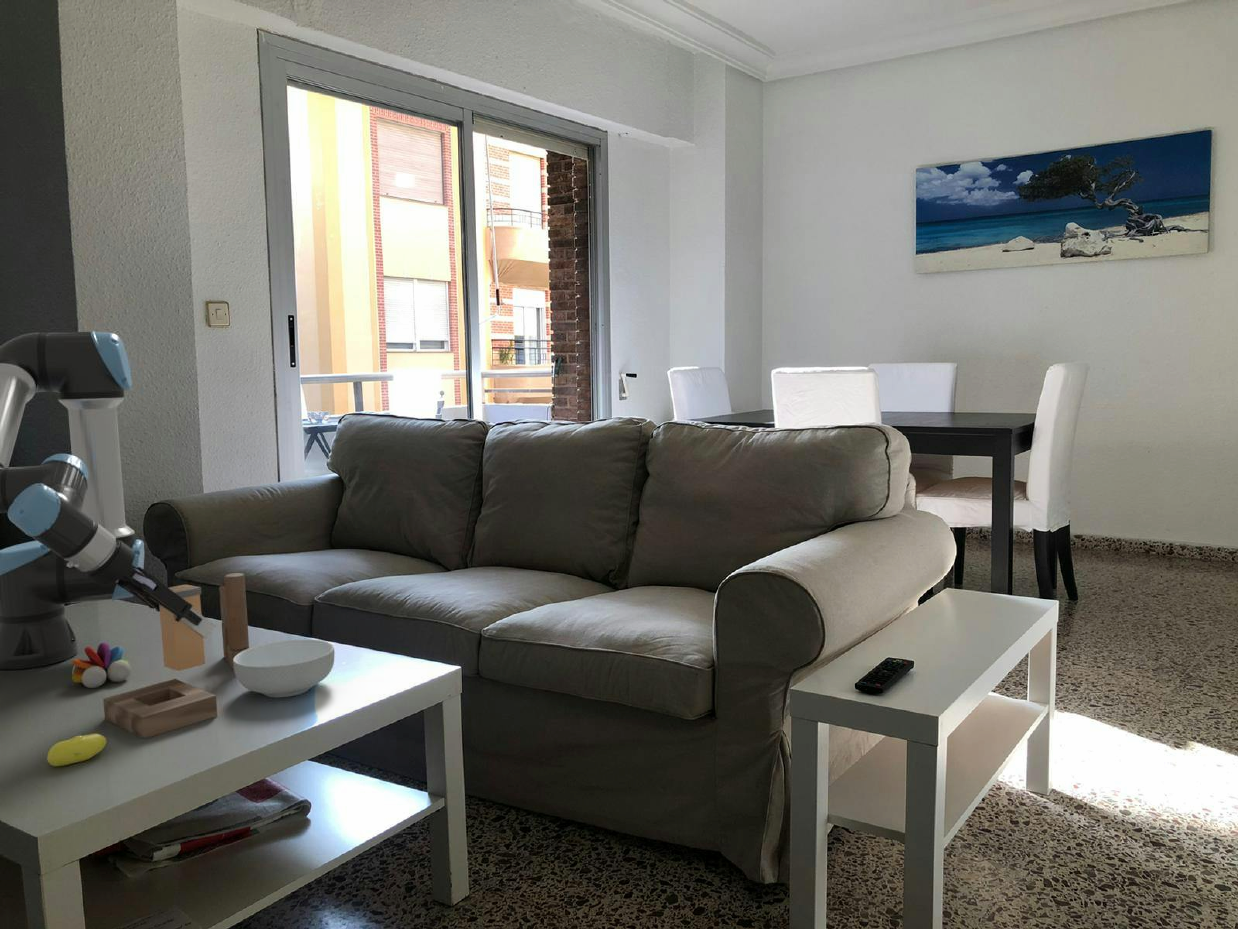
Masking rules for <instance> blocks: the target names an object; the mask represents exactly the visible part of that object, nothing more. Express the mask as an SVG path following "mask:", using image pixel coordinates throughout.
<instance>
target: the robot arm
mask: <svg viewBox="0 0 1238 929" xmlns="http://www.w3.org/2000/svg"><path fill="white" fill-rule="evenodd" d="M124 345H125V344H124V343H123V341H122V339H121V338H120V337H119V335H118V334H116V333H114V332H106V331H105V332H104V331H94V330H93V331H71V332H68V331H67V332H59V331H58V332H30V333H25V334H21V335H19V336H16V337H14V338H11V339H10V340H8V341H6V342H5V343H3V344H2V345H0V514H2V513H3V514H4V513H7V517H8V519H9V521H10V522H11V523H12V524H14V525H15V526H16V527H17V528H18V529H20V530H21V532H23V533H24V534H25V535H27V536H28V537H31V538H33V539H34V540H32V541H28V542H22V543H20V544H15V545H12V546H9V547H5V548H3V549H0V670H21V669H31V668H32V669H33V668H38V667H43V666H47V665H52V664H55V663H60V662H63V661H65V660H68V659H70V658H73V657H75V656H76V655H77V654H78V653H79V642H78V639H77V637H76V634H75V632H74V631H73V629H72V627H71V624H70V623H69V620H68V618H67V616H66V608H65V604H66V605H69V604H77V603H78V604H79V603H87V602H97V601H98V602H99V601H109V600H110V601H116V600H120V599H125V598H126V599H128V598H132V597H135V598H137V599H138V600H139V601H141V602H143V604H145V605H147V606H148V608H150V609H153V610H154V609H155V610H156V611H157V612H159V613H160V608H159V605H161V606H162V607H164V608H165V609H167V610H168V611H170V612H171V613H173V614H174V615H176V616H177V618H176V619H175V621H177V622H179V621H182V622H183V623H185V624H186V625H187V626H189V627H190V628H192V629H193V630H194V631H196V632H197V633H199V634H200V635H201V636H203V639H208V637H209V636H210V634H211V633H212V631H213V630H214V629H215V627H216V624H214V623H213V622H212V621H210V620H209V619H208V618H206V617H205V616H204V615H202V613H201V614H199V613H198V612H197V611H195V610H194V609H193V608H192V607H193V606H192V605H191V604H190V603H188V602H187V601H185V600H184V599H183V598H181V597H180V596H179V595H177V594H176V593H174V592H173V591H172V590H170V589H169V588H170V587H168V586H166V585H165V584H164V583H162V582H161V581H160V580H159V579H158V578H156V576H155V575H153V574H149V573H148V572H147V571H146V570H145V569H144V566H145V565H144V564H145V542H144V541H143V540H142V539H138V538H137V539H136V532H135V530H134V529H132V528H131V527H130V526H128V525H127V523H126V512H125V501H124V499H125V498H124V487H123V475H122V462H121V447H120V437H119V434H120V433H119V424H118V422H119V421H118V406H119V405H120V404H121V403H122V402H123V401H124V400H125V392H124V391H126V392H127V391H129V390H132V385H133V383H132V382H133V381H132V372H131V367H130V362H129V359H128V354H127V352H126V349H125V346H124ZM43 392H47V393H57V397H58V402H59V403H60V404H62V406H64V407H65V408H66V409H67V411H68V424H69V436H70V446H71V448H70V449H71V450H70V451H71V454H68V453H56V454H53V455H52V456H49V457H47V458H46V459H45V460H44V461H43V462H42V463H41V464H40V465H33V466H32V465H31V466H30V465H29V466H28V465H27V466H15V467H13V466H11V467H10V462H11V458H12V456H13V451H14V448H15V444H16V441H17V438H18V433H19V430H20V426H21V422H22V419H23V415H24V411H25V407H26V404H27V403H29V401H31V400H32V399H33V397H34V396H35V394H36V393H43Z"/></svg>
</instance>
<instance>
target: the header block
mask: <svg viewBox="0 0 1238 929" xmlns="http://www.w3.org/2000/svg"><path fill="white" fill-rule="evenodd" d="M102 700H103V712H104V720H105V721H108V722H110V723H111V724H114V725H116V726H118V727H119V728H122V729H124V730H125V731H128V732H129V733H132V734H133V735H135V736H138V737H139V738H140V739H143V740H144V739H148V738H151V737H154V736H158V735H161V734H164V733H167V732H172V731H174V730H177V729H180V728H183V727H186V726H189V725H193V724H195V723H199V722H202V721H205V720H209V719H212V718H214V717H218V710H217V709H218V708H217V707H218V706H217V695H216V694H214V693H211V692H208V691H206V690H204V689H201V688H198V687H196V686H195V685H191V684H190V683H186V682H184V681H182V680H180V679H177V678H172V679H170V680H167V681H166V680H165V681H162V682H158V683H155V684H151V685H148V686H143V687H141V688H137V689H134V690H130V691H125V692H122V693H117V694H115V695H114V694H113V695H111V696H107V697H104V698H102Z"/></svg>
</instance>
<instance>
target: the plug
mask: <svg viewBox="0 0 1238 929" xmlns="http://www.w3.org/2000/svg"><path fill="white" fill-rule="evenodd" d="M168 588H169V589H170V590H172V591H173V592H174V593H176V594H177V595H179V596H180V597H181V598H183V599H184V600H185V601H187V602H188V603H190V604H191V605H192V606H193V607H192V608H193V609H194V610H195V611H197V612H198V613H199V614H201V615H202V605H201V596H200V595H202V587H201V586H195V585H191V584H190V585H189V584H181V585H176V586H171V587H168ZM159 608H160V612H159V616H160V617H159V618H160V630H161V632H160V633H161V643H162V653H163V654H162V656H163V665H164V667H165V668H168V669H171V670H174V671H177V672H181V671H183V670H188V669H191V668H195V667H198V666H203V665H206V656H205V646H204V643H205V641H204V637H203V636H201V635H200V634H199V633H197V632H196V631H194V630H193V629H192V628H190V627H189V626H187V625H186V624H185V623H183V622H182V621H179V622H177V621H175V619H176V618H177V616H176V615H174V614H173V613H171V612H170V611H168V610H167V609H165V608H164V607H162V606H161V605H159Z"/></svg>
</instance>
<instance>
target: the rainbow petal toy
mask: <svg viewBox="0 0 1238 929" xmlns="http://www.w3.org/2000/svg"><path fill="white" fill-rule="evenodd" d="M84 653H85V655H86V657H87V658H88V659H80V658H74V659H73V661H72V665H73V668H72V671H71V672H72V676H71V679H72V681H73V682H74V683H75V684H76V683H79V684H83V686H85V688H89V689H96V688H100V687H101V686H102V685H104V683H105V682H106V680H107V678H108V679H109V680H110V681H112V682H115V683H120V682H123V681H125V680H126V679H128V677H129V676H130V674H131V669H132V668H131V665H130V662H129V660H128V659H125V658H122V657H123V655H124V648H123V647H122V646H121V645H120V646H119V645H118V646H114V647H113V648H111V647H110V645H109V643H108V642H107V641H103V642H101V643H99V645H98V647H97V650H96V651H95V650H94V649H93V648H92V647H91V646H86V647H85V648H84Z"/></svg>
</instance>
